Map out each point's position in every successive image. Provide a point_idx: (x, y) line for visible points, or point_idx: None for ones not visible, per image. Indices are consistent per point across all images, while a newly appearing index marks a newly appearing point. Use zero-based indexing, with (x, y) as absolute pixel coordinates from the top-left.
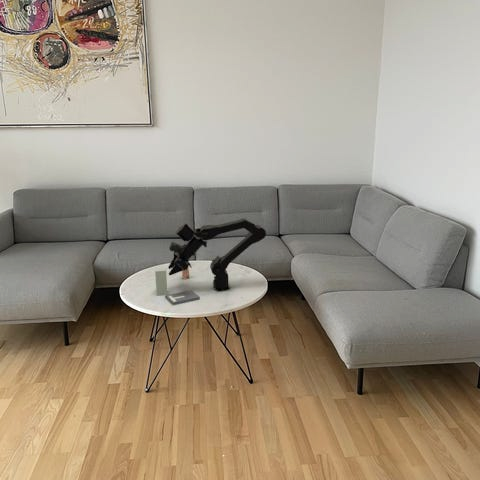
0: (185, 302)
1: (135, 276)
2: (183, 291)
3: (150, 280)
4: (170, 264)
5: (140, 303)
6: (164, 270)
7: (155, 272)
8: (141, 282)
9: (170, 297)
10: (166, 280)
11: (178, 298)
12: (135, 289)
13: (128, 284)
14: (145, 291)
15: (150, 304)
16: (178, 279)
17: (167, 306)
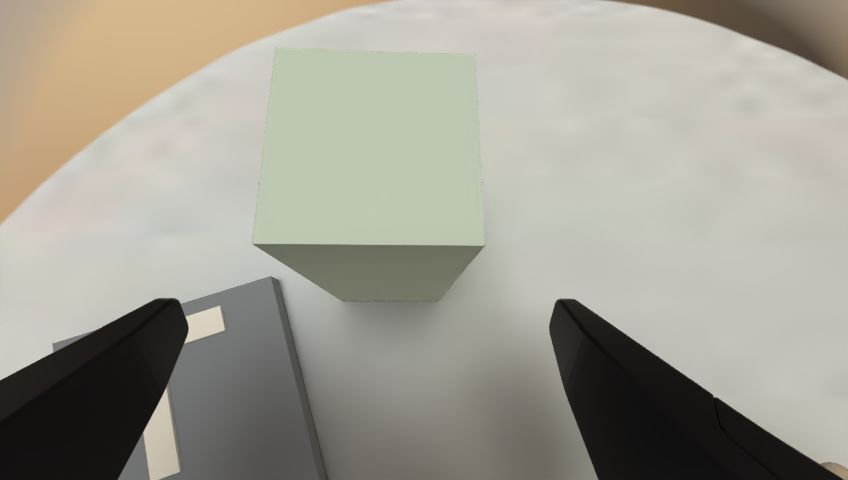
0: None
1: (790, 59)
2: (314, 471)
3: (702, 164)
4: (598, 352)
5: (222, 94)
6: (274, 211)
7: (282, 67)
8: (658, 100)
9: None
10: (307, 276)
11: None
12: (514, 61)
13: (622, 17)
14: None
15: (174, 161)
16: None
17: (71, 294)
